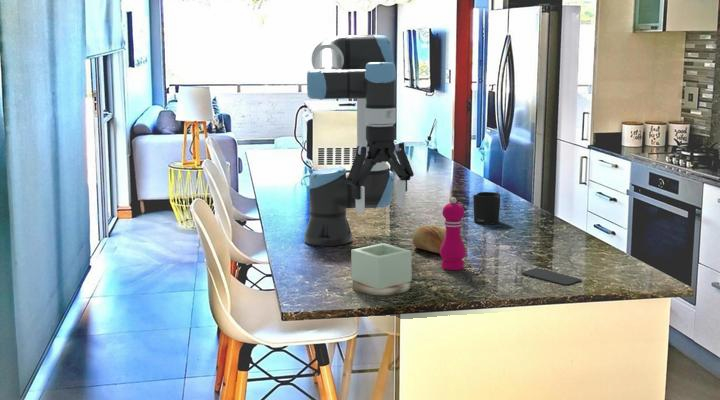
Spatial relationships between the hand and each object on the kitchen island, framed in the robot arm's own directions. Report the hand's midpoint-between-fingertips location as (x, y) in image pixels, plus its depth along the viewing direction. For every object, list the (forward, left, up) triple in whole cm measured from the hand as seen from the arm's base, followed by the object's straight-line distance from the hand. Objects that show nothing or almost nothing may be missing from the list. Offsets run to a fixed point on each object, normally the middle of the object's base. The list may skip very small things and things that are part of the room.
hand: (381, 208), depth 201 cm
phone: (-40, +23, -21) cm, 51 cm away
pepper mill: (-27, -1, -21) cm, 34 cm away
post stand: (0, 0, -21) cm, 21 cm away
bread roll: (-35, -18, -21) cm, 45 cm away
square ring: (0, 0, -19) cm, 19 cm away
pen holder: (-78, -35, -21) cm, 88 cm away
